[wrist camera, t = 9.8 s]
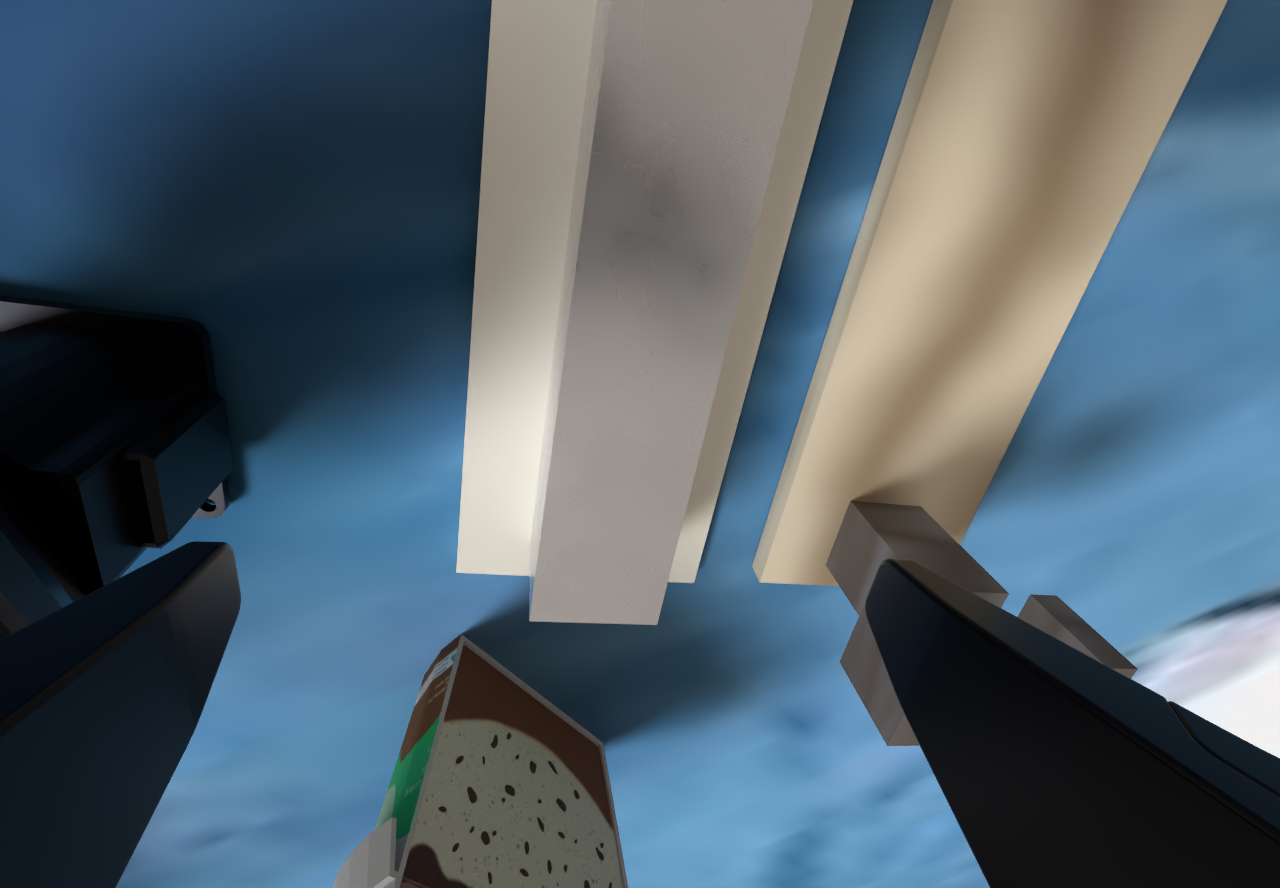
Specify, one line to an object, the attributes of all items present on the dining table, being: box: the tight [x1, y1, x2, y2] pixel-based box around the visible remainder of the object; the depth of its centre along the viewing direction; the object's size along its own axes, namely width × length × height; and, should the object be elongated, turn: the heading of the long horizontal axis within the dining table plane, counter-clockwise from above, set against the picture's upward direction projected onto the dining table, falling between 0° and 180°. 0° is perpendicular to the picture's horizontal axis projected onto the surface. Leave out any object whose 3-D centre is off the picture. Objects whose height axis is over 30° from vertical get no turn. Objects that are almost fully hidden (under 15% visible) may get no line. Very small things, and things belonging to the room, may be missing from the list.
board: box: [456, 0, 853, 583], centre depth 18 cm, size 9×26×1 cm, turn 170°
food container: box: [333, 634, 628, 888], centre depth 23 cm, size 12×6×10 cm, turn 35°
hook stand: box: [752, 0, 1228, 746], centre depth 17 cm, size 8×25×9 cm, turn 169°
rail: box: [529, 0, 814, 625], centre depth 16 cm, size 4×23×4 cm, turn 169°
